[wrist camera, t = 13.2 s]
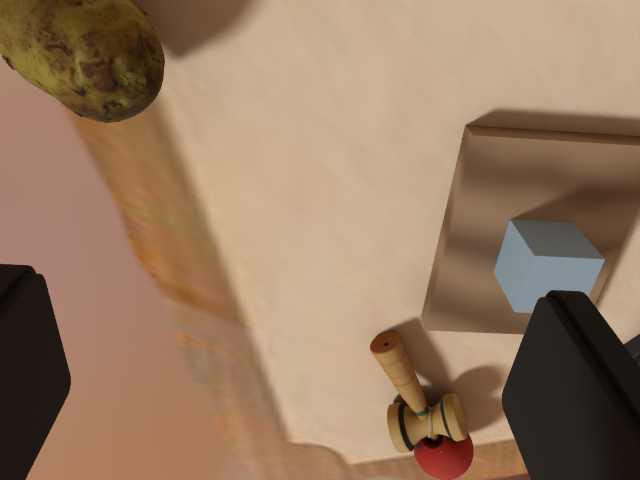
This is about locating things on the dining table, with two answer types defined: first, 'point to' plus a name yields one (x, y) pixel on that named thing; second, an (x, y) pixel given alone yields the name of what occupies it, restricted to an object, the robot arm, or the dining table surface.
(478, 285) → the board
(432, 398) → the dining table surface
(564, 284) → the cube
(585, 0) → the dining table surface
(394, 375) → the kendama
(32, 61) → the potato
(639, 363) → the vhs tape
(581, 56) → the dining table surface
